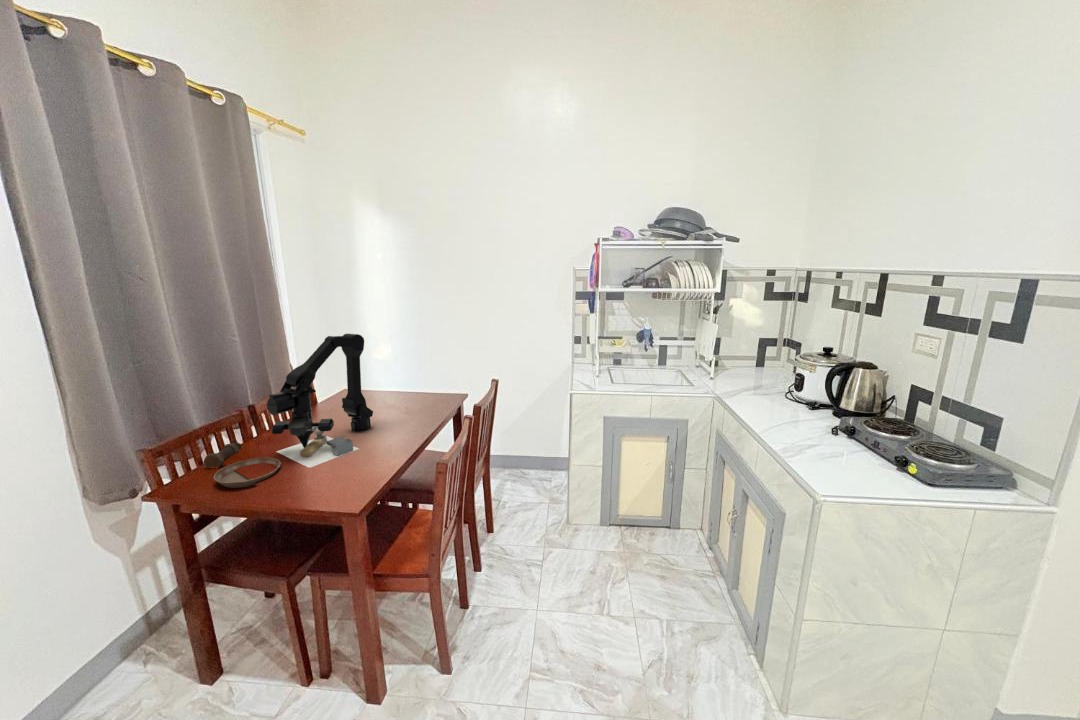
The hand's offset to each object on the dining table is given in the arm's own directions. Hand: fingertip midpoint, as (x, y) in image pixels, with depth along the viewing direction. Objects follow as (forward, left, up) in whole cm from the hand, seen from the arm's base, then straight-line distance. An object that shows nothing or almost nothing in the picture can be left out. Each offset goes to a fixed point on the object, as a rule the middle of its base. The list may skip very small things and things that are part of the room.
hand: (305, 448), depth 155 cm
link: (-3, +1, 0) cm, 3 cm away
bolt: (+18, -19, -2) cm, 26 cm away
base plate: (-3, +3, -2) cm, 4 cm away
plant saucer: (+19, +3, -2) cm, 20 cm away
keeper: (-7, +11, -1) cm, 13 cm away
